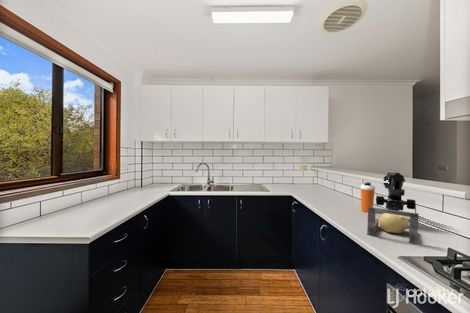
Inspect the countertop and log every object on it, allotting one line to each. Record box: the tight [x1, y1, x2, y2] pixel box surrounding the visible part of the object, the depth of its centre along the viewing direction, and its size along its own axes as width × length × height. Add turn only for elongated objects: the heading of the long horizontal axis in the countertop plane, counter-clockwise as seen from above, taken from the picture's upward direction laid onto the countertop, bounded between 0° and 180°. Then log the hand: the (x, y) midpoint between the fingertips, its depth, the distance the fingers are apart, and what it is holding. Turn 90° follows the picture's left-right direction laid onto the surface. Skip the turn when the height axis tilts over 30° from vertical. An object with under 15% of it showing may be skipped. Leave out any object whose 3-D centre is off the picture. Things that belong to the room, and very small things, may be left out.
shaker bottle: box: [360, 181, 376, 214], centre depth 171 cm, size 9×9×20 cm
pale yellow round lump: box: [378, 213, 410, 234], centre depth 128 cm, size 12×12×11 cm
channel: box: [366, 206, 419, 245], centre depth 124 cm, size 20×20×14 cm
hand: (394, 214), depth 136 cm, fingers closed
